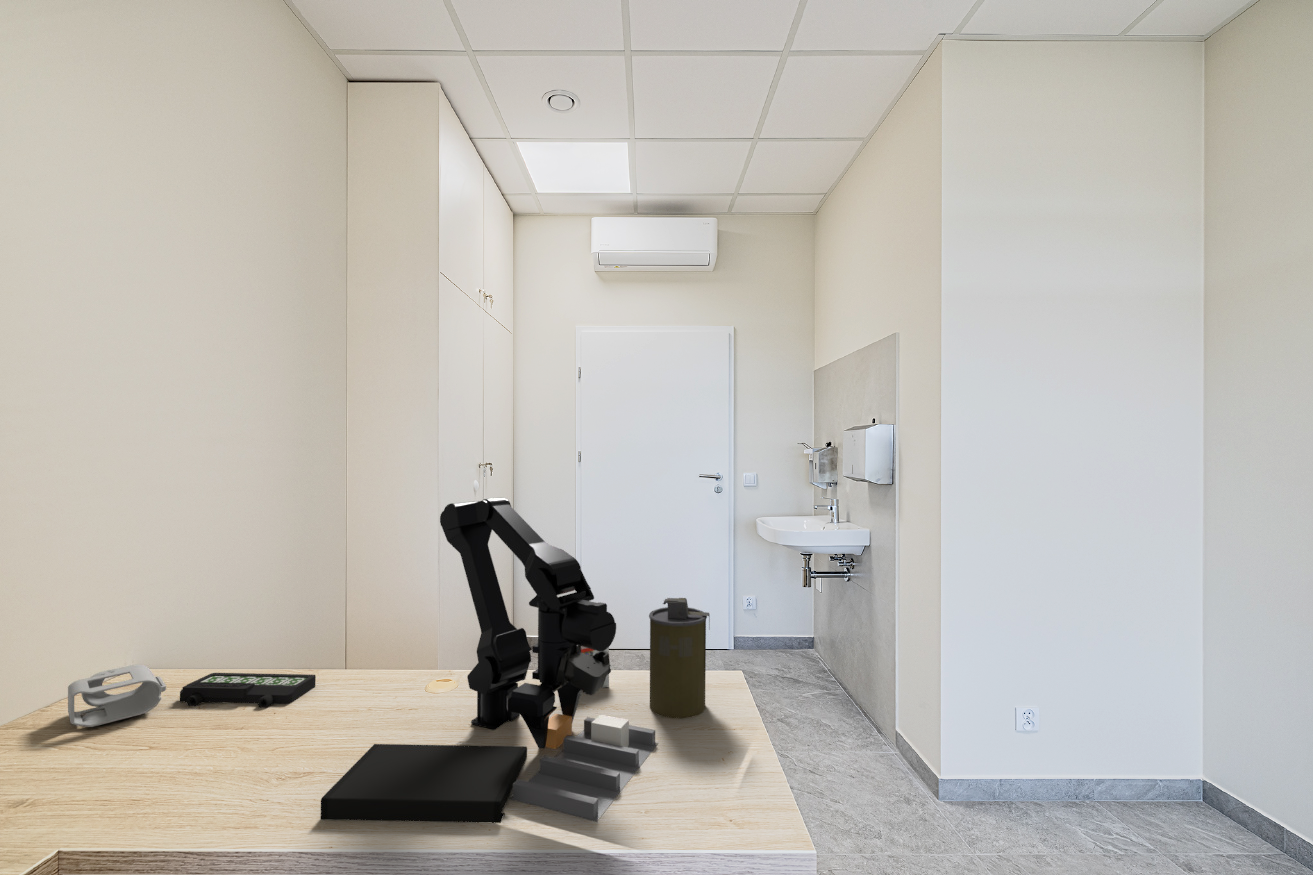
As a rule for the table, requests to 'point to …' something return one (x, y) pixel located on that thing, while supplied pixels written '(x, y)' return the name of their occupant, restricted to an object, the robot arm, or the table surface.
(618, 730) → the white block
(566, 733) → the orange block
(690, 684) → the canister
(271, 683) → the digital display
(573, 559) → the robot arm
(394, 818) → the external hard drive
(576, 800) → the grey ridged tray
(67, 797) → the table surface
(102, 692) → the cable organizer
